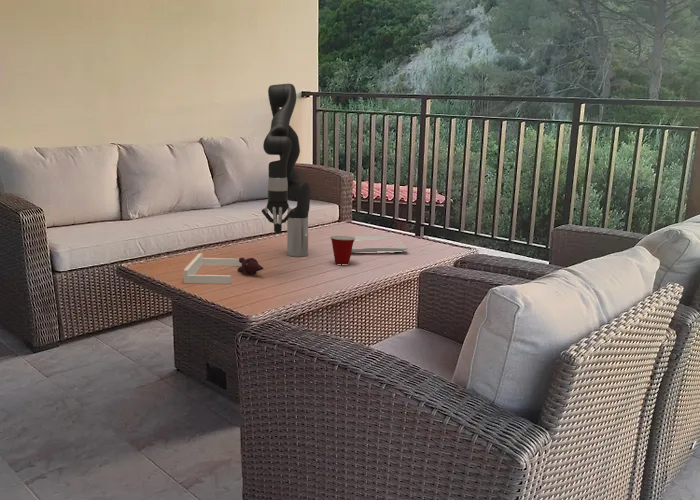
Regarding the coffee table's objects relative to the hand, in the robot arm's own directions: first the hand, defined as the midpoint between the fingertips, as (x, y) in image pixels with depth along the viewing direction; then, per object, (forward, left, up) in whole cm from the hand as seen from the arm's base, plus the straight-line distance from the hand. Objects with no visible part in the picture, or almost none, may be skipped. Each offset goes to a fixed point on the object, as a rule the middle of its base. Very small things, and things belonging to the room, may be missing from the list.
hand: (277, 233), depth 247 cm
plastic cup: (-26, -20, -17) cm, 37 cm away
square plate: (-41, -50, -18) cm, 67 cm away
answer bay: (+24, 0, -17) cm, 30 cm away
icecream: (+11, 0, -17) cm, 20 cm away
